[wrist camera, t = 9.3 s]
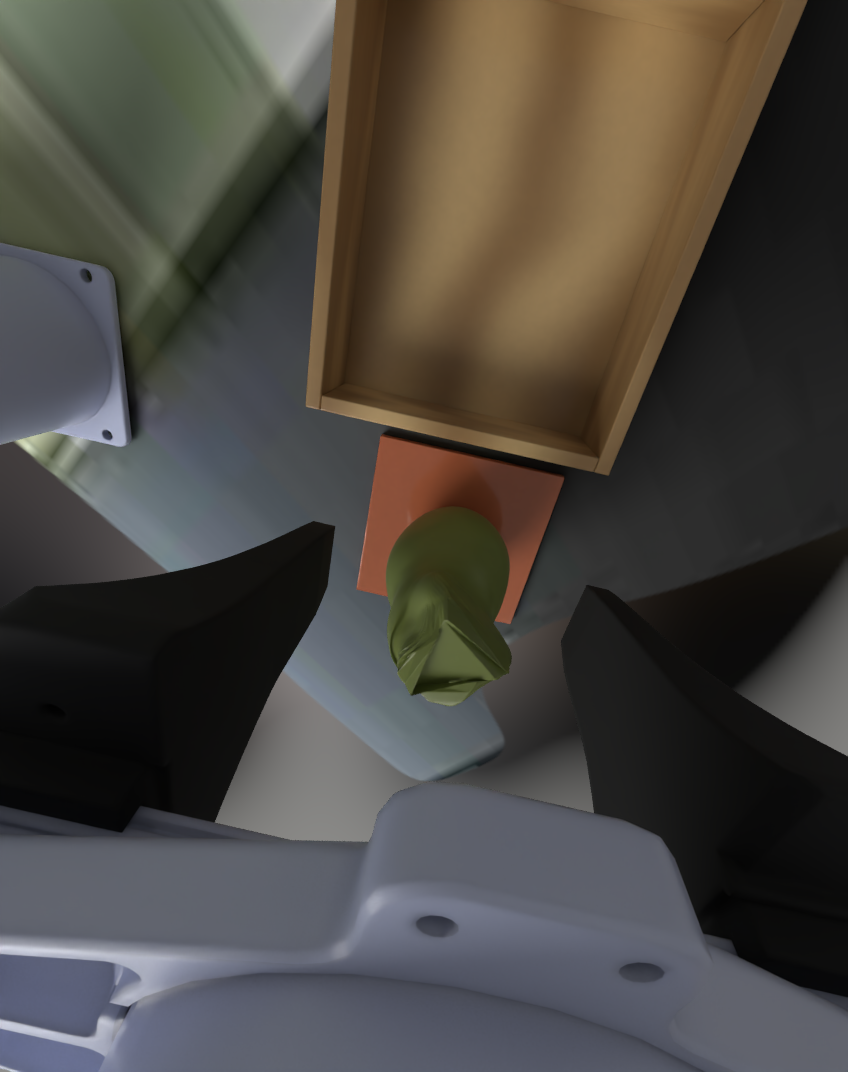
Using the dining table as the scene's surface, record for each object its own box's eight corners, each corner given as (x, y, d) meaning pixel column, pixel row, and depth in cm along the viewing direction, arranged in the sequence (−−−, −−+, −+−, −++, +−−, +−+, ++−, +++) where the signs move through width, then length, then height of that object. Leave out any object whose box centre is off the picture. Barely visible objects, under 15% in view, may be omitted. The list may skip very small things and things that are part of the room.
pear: (380, 527, 23) (322, 660, 14) (461, 468, 21) (454, 578, 12) (446, 599, 25) (431, 760, 16) (526, 550, 23) (562, 701, 14)
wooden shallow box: (332, 392, 20) (304, 406, 17) (378, -59, 14) (348, -179, 11) (586, 450, 21) (609, 476, 17) (748, 26, 14) (836, -66, 11)
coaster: (357, 585, 25) (356, 589, 25) (381, 433, 21) (380, 435, 21) (509, 620, 25) (510, 624, 25) (563, 474, 21) (565, 477, 21)
